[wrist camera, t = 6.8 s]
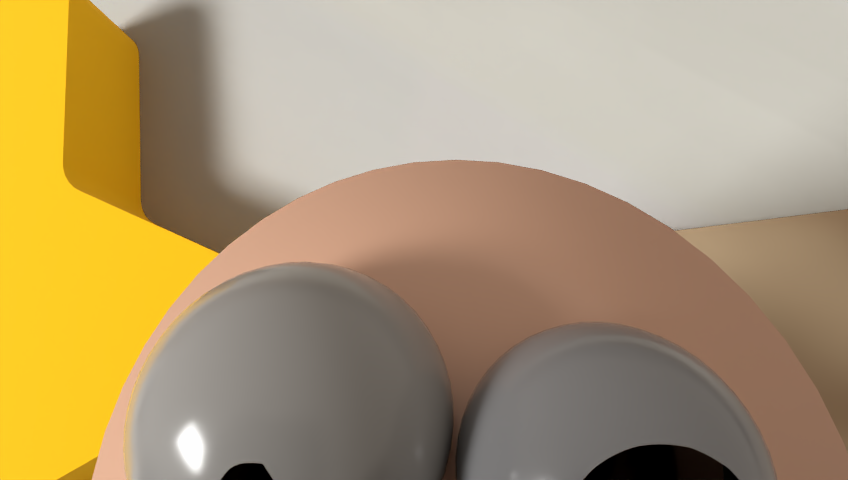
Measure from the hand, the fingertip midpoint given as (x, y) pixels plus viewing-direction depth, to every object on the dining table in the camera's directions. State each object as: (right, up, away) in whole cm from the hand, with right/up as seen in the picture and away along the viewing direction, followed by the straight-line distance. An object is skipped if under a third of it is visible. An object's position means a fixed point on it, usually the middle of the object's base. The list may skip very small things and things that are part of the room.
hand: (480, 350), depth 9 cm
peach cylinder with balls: (+1, -3, +5) cm, 6 cm away
